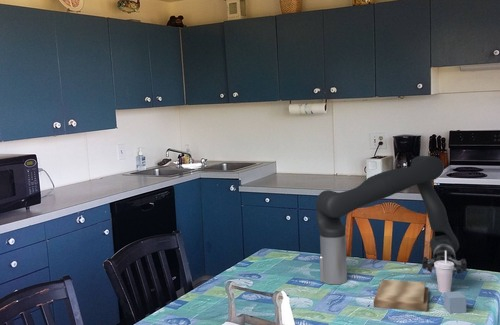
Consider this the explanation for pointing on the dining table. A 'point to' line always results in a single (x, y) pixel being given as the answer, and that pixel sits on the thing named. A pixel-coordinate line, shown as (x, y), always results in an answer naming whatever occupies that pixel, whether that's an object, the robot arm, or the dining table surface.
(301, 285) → the dining table surface
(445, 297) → the slate cube
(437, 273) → the smoothie
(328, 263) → the robot arm
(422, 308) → the plinth
